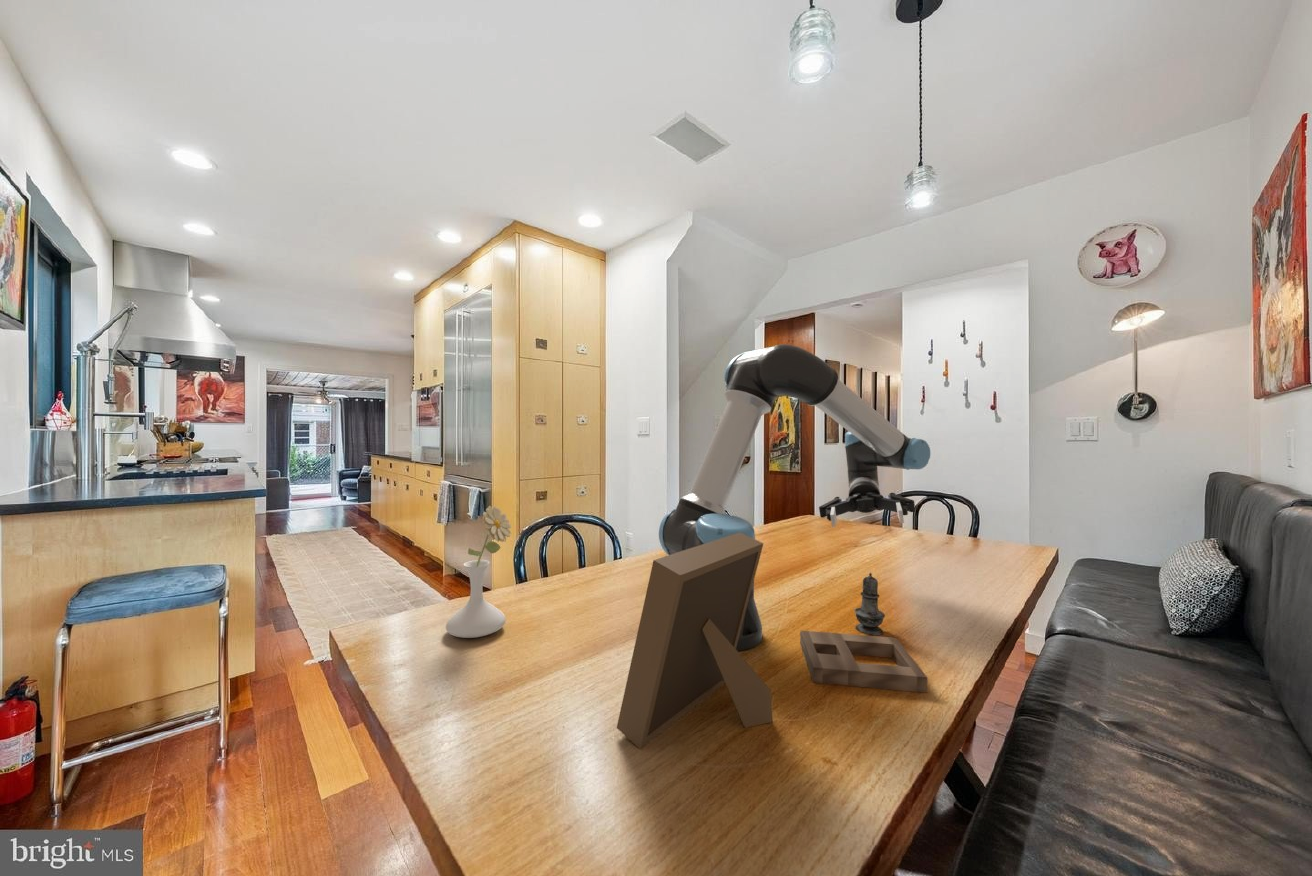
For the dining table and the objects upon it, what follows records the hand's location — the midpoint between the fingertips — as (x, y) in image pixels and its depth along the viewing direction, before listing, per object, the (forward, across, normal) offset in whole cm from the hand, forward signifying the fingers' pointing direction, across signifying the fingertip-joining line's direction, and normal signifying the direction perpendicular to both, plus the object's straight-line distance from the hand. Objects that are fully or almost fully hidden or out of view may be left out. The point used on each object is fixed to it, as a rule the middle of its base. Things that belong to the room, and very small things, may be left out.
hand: (866, 518), depth 103 cm
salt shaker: (+6, +2, -22) cm, 23 cm away
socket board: (+24, +4, -20) cm, 31 cm away
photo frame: (+49, +24, -14) cm, 56 cm away
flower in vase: (+39, +74, -7) cm, 84 cm away
